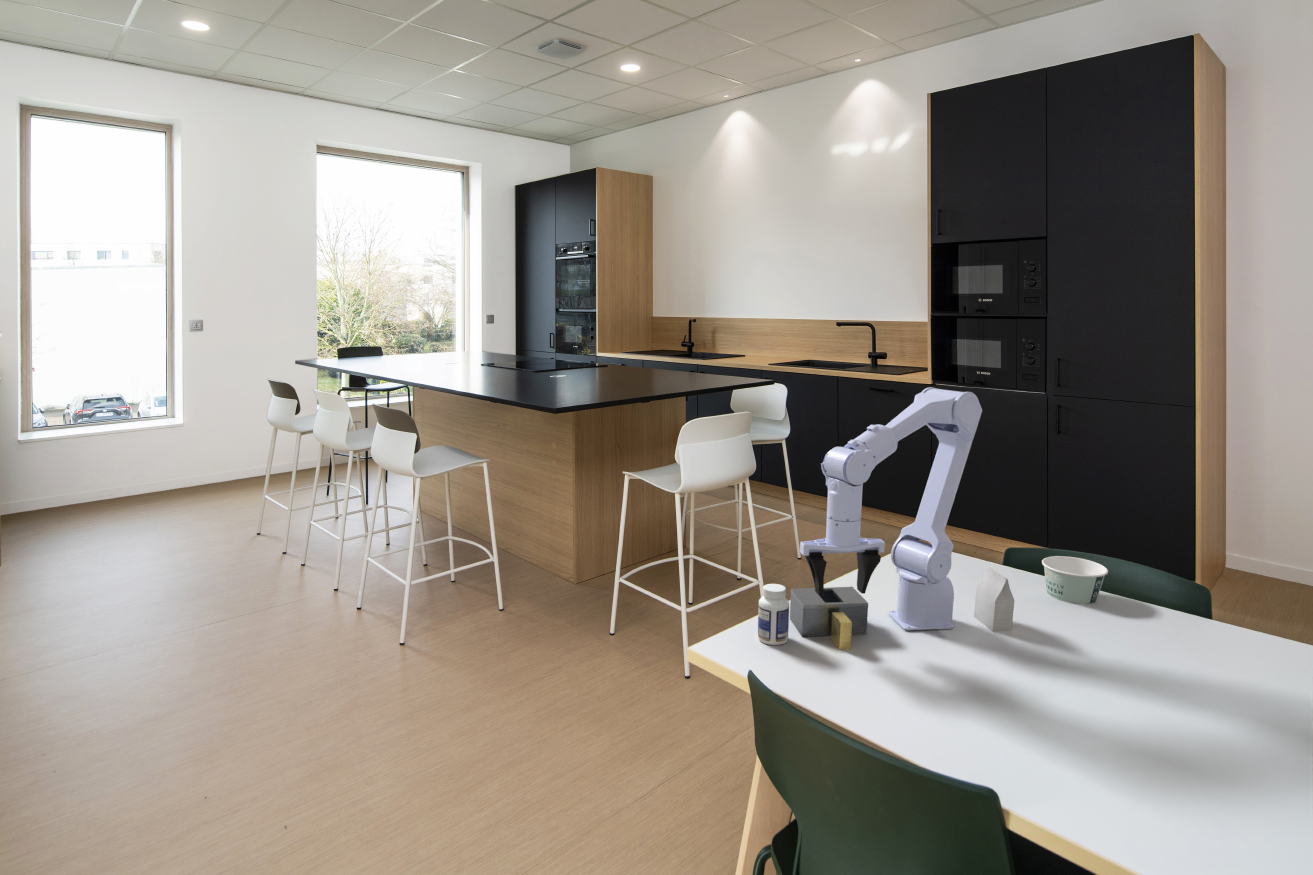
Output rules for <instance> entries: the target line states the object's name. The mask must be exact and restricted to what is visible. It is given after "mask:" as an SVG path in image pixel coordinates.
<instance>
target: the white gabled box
mask: <svg viewBox="0 0 1313 875" xmlns="http://www.w3.org/2000/svg"><path fill="white" fill-rule="evenodd" d="M975 588H976V589H975V599H974V600H975V601H974V612H973V613H974V614H973V617H974V618H975V619H976V620H977V621H979V622H980V623H981V624H982V625H984V626H985V627H986V628H987V629H988V630H990V631H991V632H1012V629H1013V620H1014V608H1015V599H1014V598H1015V597H1014V596H1013V593H1012V590H1011V587H1010V584H1009V579H1008V578H1007V577H1005V576H1003V575H1001V574H1000V573H999V572H997V570H995V569H993V568H992V567H990V566H988V567H987V566H986V569H985V570H984V573H983V575H982V577H981V579H980V580H979V583H978V584H977V586H976V587H975Z"/></svg>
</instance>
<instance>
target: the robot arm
mask: <svg viewBox="0 0 1313 875" xmlns="http://www.w3.org/2000/svg"><path fill="white" fill-rule="evenodd" d="M982 413H983V408H982V406H981V404H980V400H979V398H978V396H977V395H976V394H975V393H974V392H972V391H957V390H949V389H942V388H941V389H940V388H936V387H934V386H931V387H930V386H929V387H926V388H924V389H923V390H922V391H921V392H919V393H917V394H915V395H914V399H913V402H912V403H911V404H910V405H909V406H907V408H905V409H903V410H902V411H901V412H900V413H899V414H898V415H897V416H895V417H894V418H893V419H891V420H890V422H888V423H887V424H886V425H883V424H870V425H869V426H867V427H866V431H864V432H862V433H861V434H860V435H858V436H857V437H855V438H854V439H850V440H849V441H847V444H845V445H844V446H835V447H833V448H832V449H830V450H829V451H827V453H826V454H825V456H824V458H823V461H822V463H820V467H821V471H822V474H823V475H824V476H825V486H826V488H827V499H826V500H827V504H826V528H825V529H826V531H825V537H824V538H819V539H814V540H805V541H800V544H799V553H800V554H801V555H802V556H804V557H805V559H806V562H807V564H808V567H809V569H810V571H811V575H812V579H813V584H814V588H815V592H816V593H817V594H818V595H819V596H820V595H823V591H824V588H825V587H824V586H825V584H824V583H825V582H824V580H825V572H826V566H827V564H828V562H827V561H826V560H825V558H824V554H825V555H826V554H845V553H846V554H850V553H856V560H857V578H856V591H857V590H858V591H857V592H858V593H861V594H866V591H867V588H868V585H869V582H870V579H871V578H872V575H873V573H874V572H875V570H876V568H877V566H878V565H879V564H880V563H881V559H882V556H881V555H880V553H881V554H882V553H885V549H886V548H885V547H886V542H885V541H884V540H882V538H868V537H867V538H866V537H864V538H863V537H861V528H862V527H861V523H862V522H861V521H862V505H863V504H862V502H863V486H864V483H866V482H867V481H868V480H869V478H870V477H871V474H872V471H873V470H874V469H875V467H876V466H878V464H880V463H881V462H883V461H884V460H885V459H887V458H888V457H889V456H891V455H892V454H893V453H895V452H896V451H897V449H898V443H899V441H901V440H902V439H903V440H904V438H906V437H908V436H909V435H911V434H912V433H914V432H916V431H917V430H919V429H921V428H922V427H924V426H927V427H928V429H930V431H931V432H932V433H933V434H934V435H935V436H936V438H937V440H938V445H937V446H938V447H937V449H936V454H935V457H934V460H933V462H932V466H931V469H930V472H929V476H928V479H927V482H926V485H925V488H924V491H923V495H922V498H921V501H920V504H919V507H918V511H917V514H916V517H915V520H914V521H913V523H911V524H909V525H908V524H907V525H906V526H905V527H903V528H901V531H900V534H899V536H898V538H897V539H896V541H894V543H893V545H892V548H891V551H890V559H891V563H892V564H893V565H894V566H895V567H896V573H897V574H899V575H898V588H897V590H898V591H897V601H896V602H897V604H896V610H889V611H888V615H889V616H890V617H891V618H892V619H893V620H894V621H895V622H896V623H897V624H898V625H899V626H900V627H901V628H902V629H903V630H905V631H922V630H923V631H924V630H925V631H927V630H947V629H948V630H949V629H950V630H951V629H954V627H955V626H954V625H953V614H954V612H953V611H954V597H955V593H954V591H955V590H954V586H953V582H952V580H951V579H950V578H949V577H948V575H949V572H950V571H951V569H952V554H953V550H954V547H955V546H954V544H953V542H952V540H951V539H950V538H949V536H948V535H947V533H946V528H947V527H946V526H947V524H948V520H949V518H950V517H949V516H950V513H951V510H952V507H953V504H954V502H955V498H956V494H957V493H958V492H957V491H958V489H959V485H960V482H961V479H962V476H963V473H964V469H965V466H966V463H967V461H968V457H969V453H970V450H971V448H972V444H973V441H974V437H975V434H976V432H977V430H978V425H979V422H980V420H981V416H982ZM921 540H922V541H921ZM924 541H926V542H924ZM927 542H928V543H927ZM929 543H930V544H929Z"/></svg>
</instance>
